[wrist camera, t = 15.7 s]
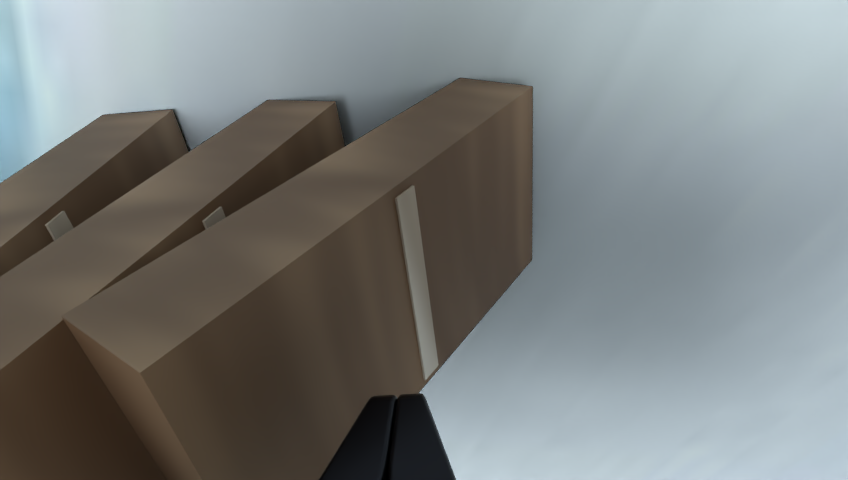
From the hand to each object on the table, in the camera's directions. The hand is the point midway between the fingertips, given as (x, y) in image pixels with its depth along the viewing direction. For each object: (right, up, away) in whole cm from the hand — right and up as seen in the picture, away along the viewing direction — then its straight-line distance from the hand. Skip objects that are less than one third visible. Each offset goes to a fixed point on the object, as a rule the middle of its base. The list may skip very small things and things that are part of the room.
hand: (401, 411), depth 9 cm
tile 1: (+2, +4, +6) cm, 8 cm away
